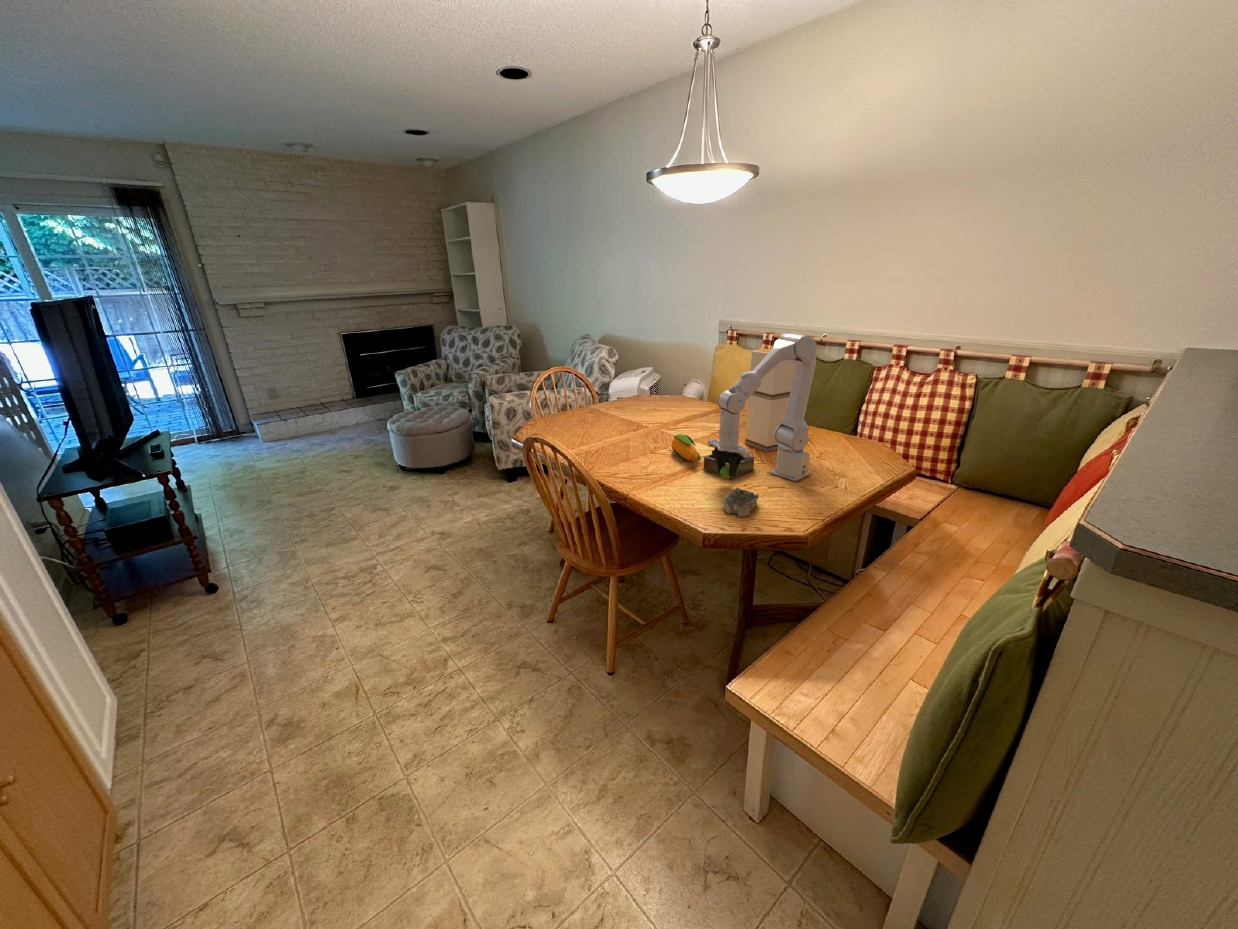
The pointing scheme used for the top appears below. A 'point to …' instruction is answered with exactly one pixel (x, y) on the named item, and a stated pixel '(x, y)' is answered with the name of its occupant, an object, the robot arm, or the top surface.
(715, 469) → the dark grey open box
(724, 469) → the pea
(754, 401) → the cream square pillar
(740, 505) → the gray rock
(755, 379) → the robot arm
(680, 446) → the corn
